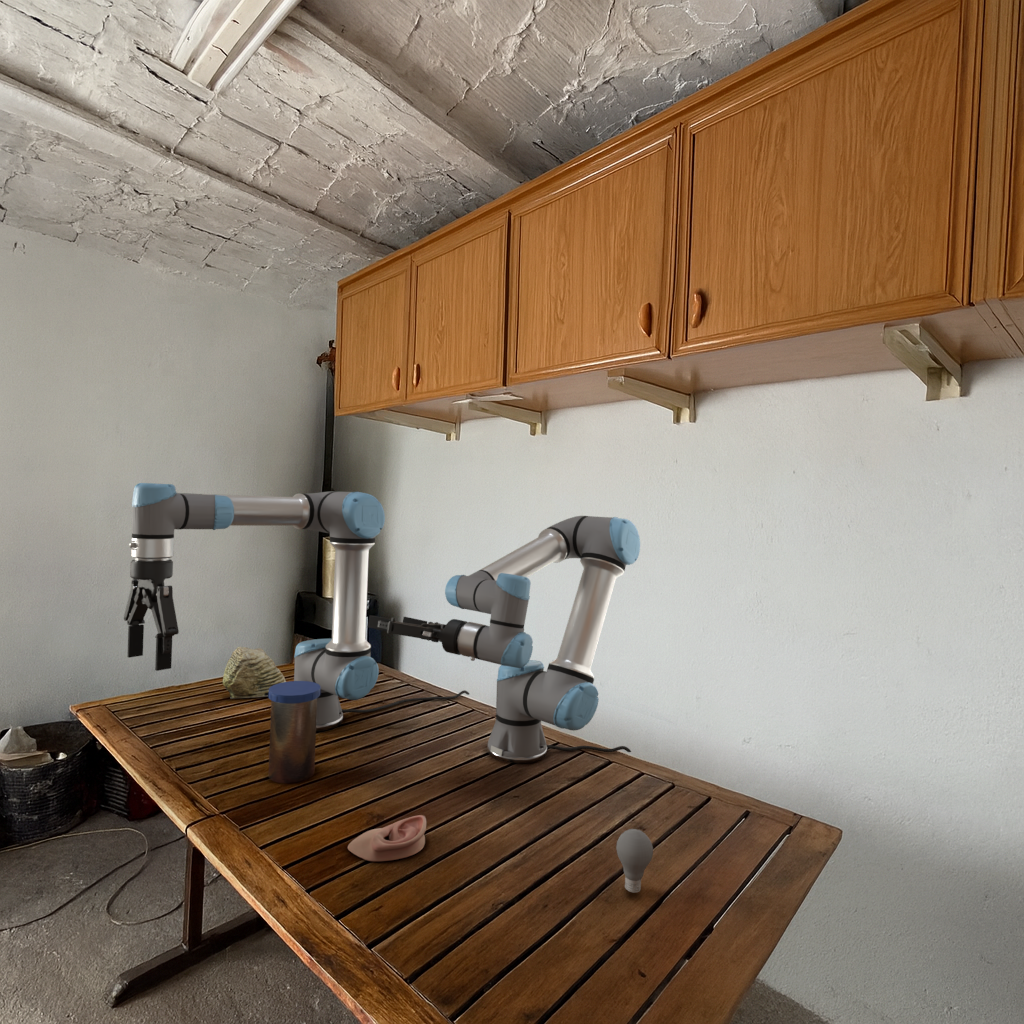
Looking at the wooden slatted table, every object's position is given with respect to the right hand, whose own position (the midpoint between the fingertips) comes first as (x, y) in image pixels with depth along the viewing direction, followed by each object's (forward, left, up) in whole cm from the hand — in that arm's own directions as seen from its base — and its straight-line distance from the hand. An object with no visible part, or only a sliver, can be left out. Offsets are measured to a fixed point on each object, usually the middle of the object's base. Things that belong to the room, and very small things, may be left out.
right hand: (387, 621), depth 150 cm
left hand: (+49, +5, -6) cm, 49 cm away
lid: (+20, 0, -15) cm, 25 cm away
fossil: (+31, -61, -34) cm, 77 cm away
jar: (+20, 0, -34) cm, 40 cm away
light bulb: (-34, +59, -34) cm, 76 cm away
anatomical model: (+4, +35, -34) cm, 49 cm away
